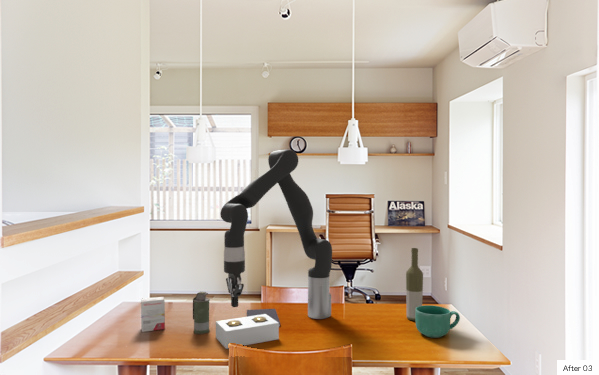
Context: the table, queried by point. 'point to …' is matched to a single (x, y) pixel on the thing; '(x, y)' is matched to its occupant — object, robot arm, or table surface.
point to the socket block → (247, 331)
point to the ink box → (152, 314)
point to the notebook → (269, 312)
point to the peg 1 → (234, 323)
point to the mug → (434, 320)
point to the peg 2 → (259, 319)
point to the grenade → (201, 313)
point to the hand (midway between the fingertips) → (234, 306)
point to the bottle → (413, 286)
